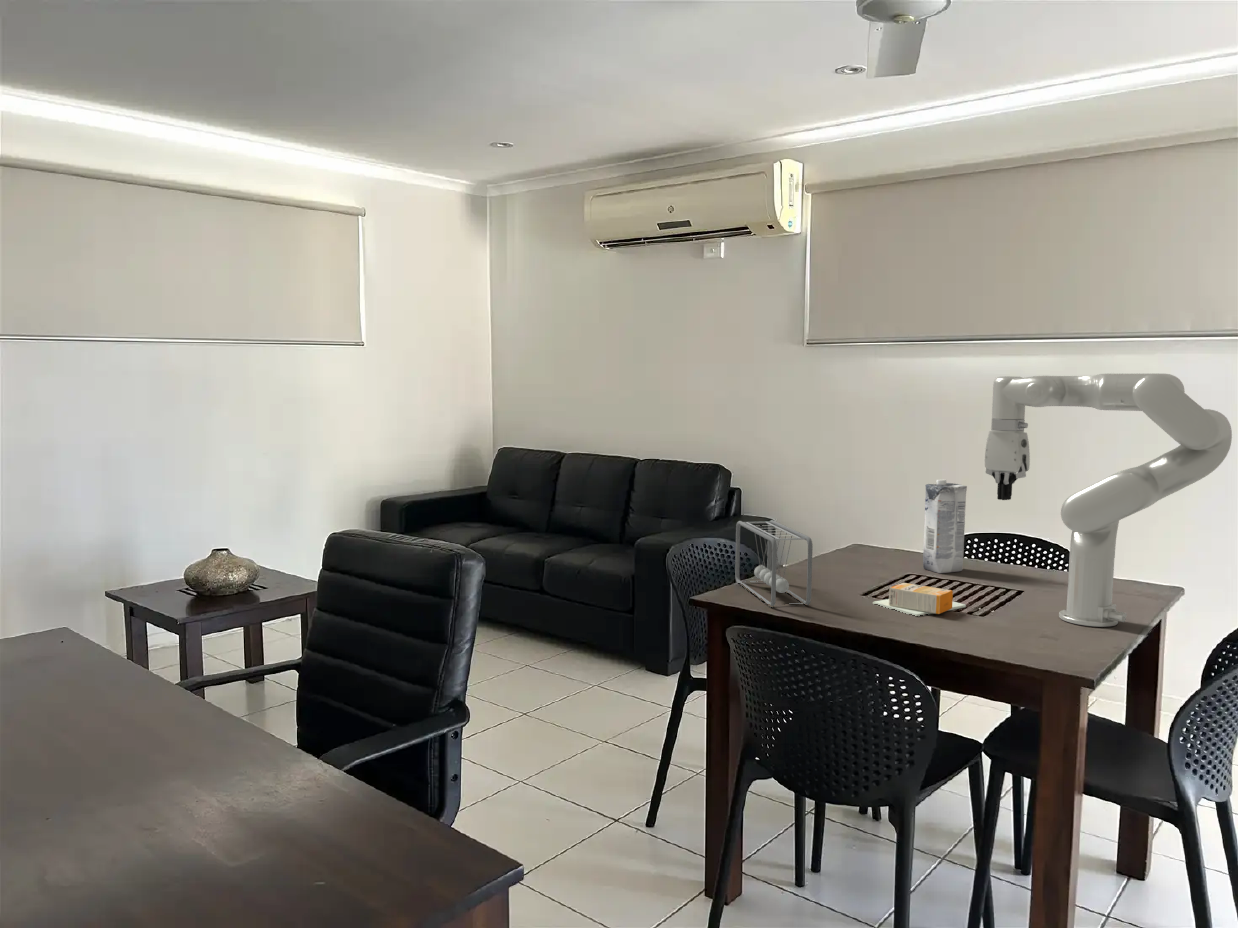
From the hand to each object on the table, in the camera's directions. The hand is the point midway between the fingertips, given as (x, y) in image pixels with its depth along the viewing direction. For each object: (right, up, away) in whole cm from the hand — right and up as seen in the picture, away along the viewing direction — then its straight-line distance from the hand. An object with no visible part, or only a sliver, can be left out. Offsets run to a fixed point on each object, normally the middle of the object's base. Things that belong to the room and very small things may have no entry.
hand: (1004, 499), depth 232 cm
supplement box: (-17, -25, -7) cm, 30 cm away
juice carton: (0, -23, +43) cm, 49 cm away
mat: (-21, -27, +2) cm, 34 cm away
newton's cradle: (-56, -26, +13) cm, 63 cm away
